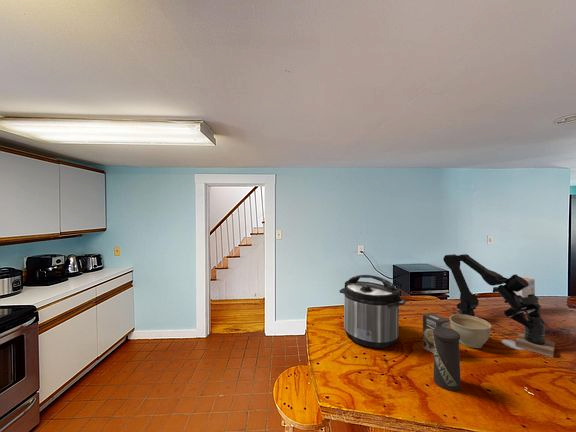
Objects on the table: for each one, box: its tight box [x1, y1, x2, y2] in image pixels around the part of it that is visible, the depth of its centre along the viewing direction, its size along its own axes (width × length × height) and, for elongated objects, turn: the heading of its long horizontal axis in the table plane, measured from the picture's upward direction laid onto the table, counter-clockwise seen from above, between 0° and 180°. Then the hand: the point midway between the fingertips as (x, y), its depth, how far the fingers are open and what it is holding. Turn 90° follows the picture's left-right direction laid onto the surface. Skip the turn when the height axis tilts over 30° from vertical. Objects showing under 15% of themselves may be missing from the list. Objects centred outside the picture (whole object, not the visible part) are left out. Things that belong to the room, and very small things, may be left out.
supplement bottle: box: [523, 314, 546, 345], centre depth 113 cm, size 7×7×12 cm
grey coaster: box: [501, 339, 527, 351], centre depth 115 cm, size 9×9×1 cm
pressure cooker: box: [339, 274, 407, 348], centre depth 125 cm, size 30×28×32 cm
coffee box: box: [422, 312, 451, 355], centre depth 110 cm, size 9×6×16 cm
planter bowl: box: [449, 314, 492, 349], centre depth 117 cm, size 16×16×11 cm
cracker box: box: [514, 277, 536, 316], centre depth 152 cm, size 14×6×21 cm, turn 111°
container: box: [433, 327, 462, 392], centre depth 90 cm, size 9×9×20 cm
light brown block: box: [514, 332, 556, 358], centre depth 113 cm, size 12×12×2 cm
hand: (538, 327), depth 112 cm, fingers open, 9 cm apart
